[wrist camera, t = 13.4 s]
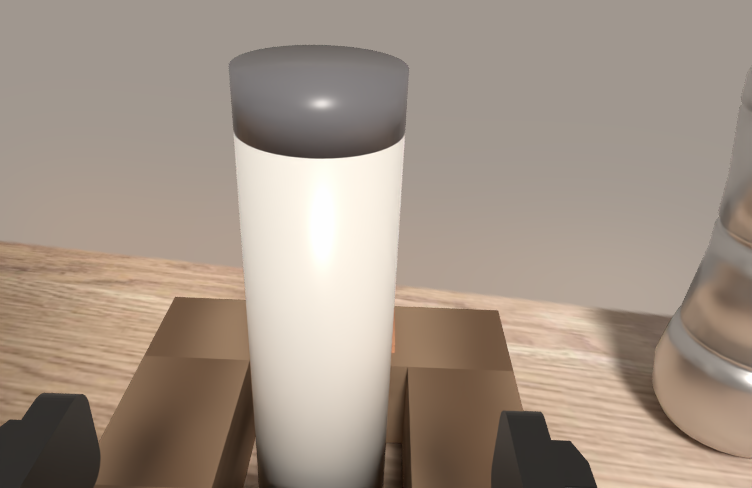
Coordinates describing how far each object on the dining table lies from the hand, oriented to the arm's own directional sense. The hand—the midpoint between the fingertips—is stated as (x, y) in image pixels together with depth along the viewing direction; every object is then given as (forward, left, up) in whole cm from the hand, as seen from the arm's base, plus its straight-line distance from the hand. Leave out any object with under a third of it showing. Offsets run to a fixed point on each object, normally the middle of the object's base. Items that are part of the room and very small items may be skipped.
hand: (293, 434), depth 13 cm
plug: (0, +7, -10) cm, 13 cm away
